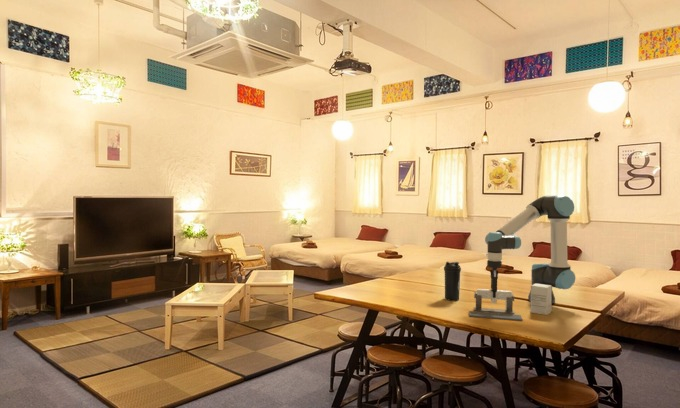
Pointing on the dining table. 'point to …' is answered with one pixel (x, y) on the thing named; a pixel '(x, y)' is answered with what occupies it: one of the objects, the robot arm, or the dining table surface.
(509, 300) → the rack
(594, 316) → the dining table surface
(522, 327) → the dining table surface
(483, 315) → the mat
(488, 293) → the rail
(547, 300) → the supplement box
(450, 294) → the water bottle
